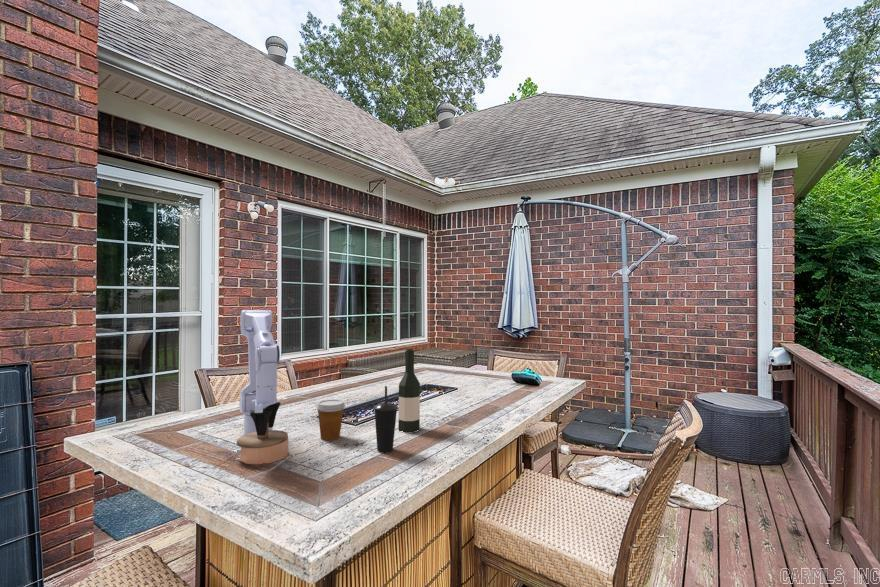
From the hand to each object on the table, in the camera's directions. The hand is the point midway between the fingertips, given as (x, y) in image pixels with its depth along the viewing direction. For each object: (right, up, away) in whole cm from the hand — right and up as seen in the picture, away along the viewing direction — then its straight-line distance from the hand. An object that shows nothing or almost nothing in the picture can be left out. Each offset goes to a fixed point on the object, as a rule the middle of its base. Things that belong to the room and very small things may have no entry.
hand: (265, 431), depth 119 cm
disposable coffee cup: (+15, -9, +18) cm, 25 cm away
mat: (-15, -7, -2) cm, 17 cm away
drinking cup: (+35, -8, +6) cm, 37 cm away
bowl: (0, -8, 0) cm, 8 cm away
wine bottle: (+41, -9, +27) cm, 50 cm away
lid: (-1, -3, 0) cm, 3 cm away
